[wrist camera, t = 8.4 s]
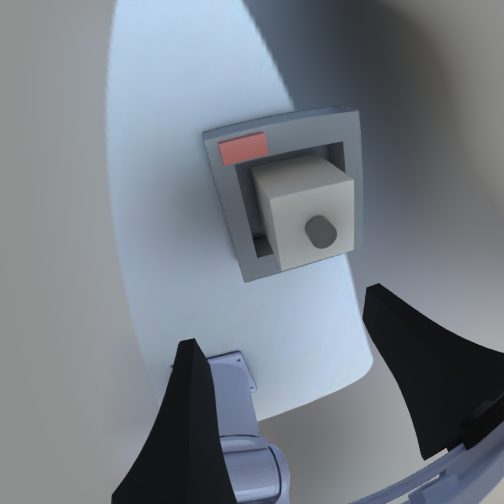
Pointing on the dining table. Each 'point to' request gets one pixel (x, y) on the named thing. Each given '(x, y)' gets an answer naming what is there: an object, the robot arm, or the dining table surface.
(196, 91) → the dining table surface
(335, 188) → the plug
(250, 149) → the socket plate
